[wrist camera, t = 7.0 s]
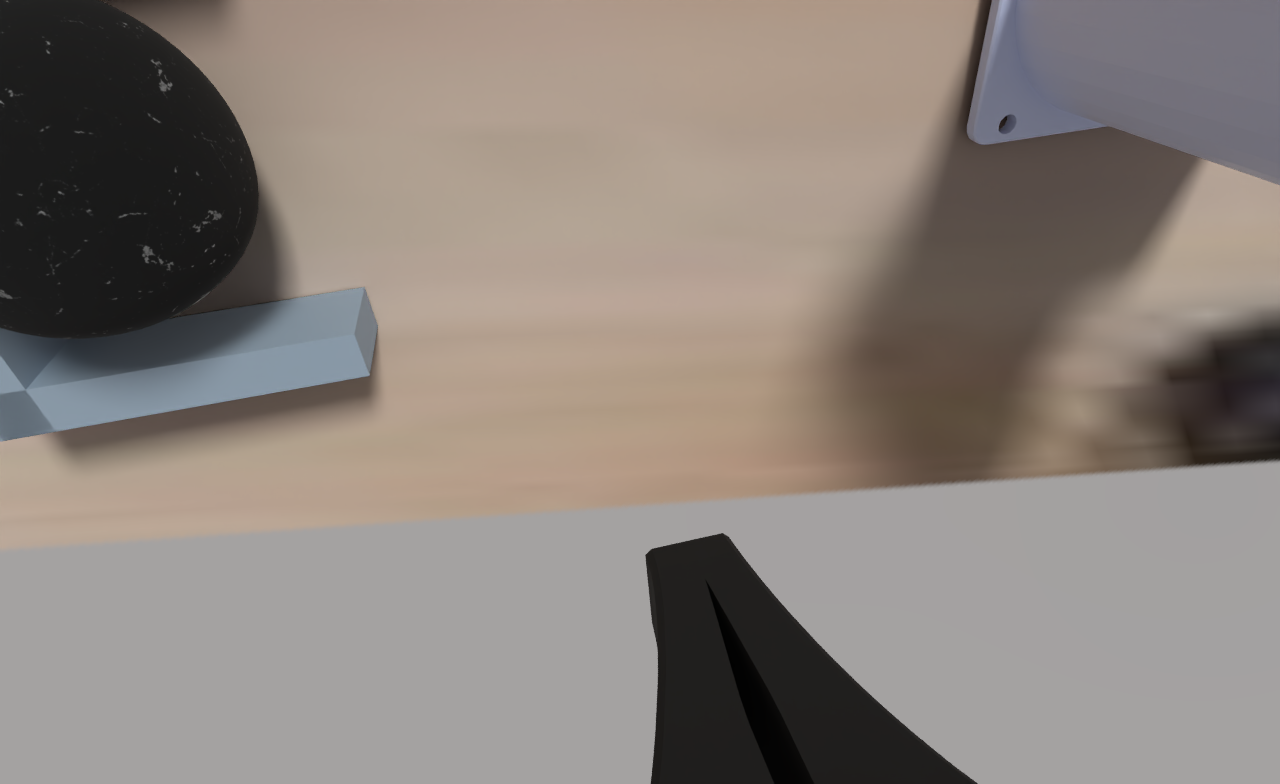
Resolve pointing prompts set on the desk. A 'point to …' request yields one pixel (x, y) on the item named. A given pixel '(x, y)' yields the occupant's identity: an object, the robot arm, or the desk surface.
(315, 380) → the corral
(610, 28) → the desk surface
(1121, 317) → the desk surface
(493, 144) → the desk surface
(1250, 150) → the robot arm
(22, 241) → the billiard ball
